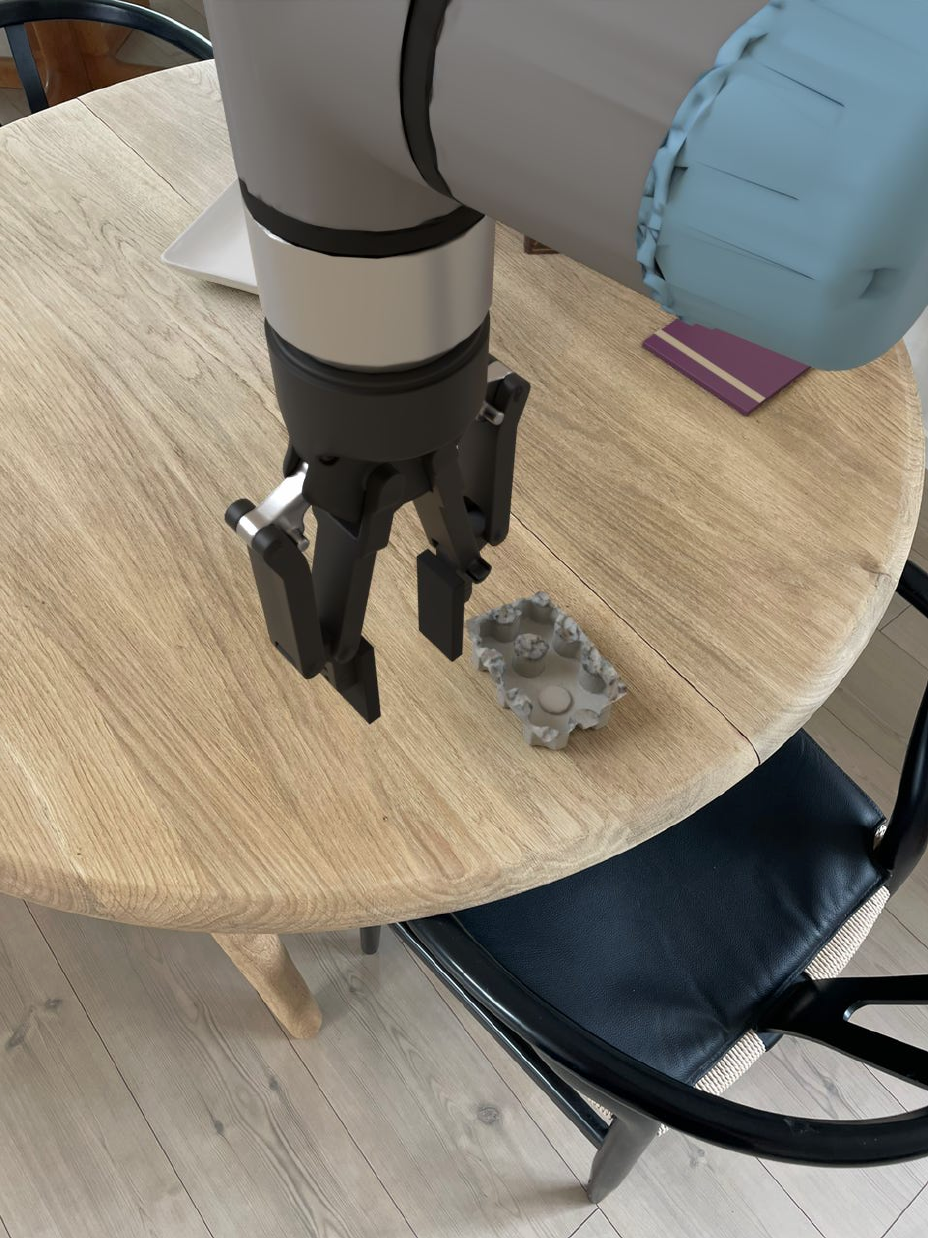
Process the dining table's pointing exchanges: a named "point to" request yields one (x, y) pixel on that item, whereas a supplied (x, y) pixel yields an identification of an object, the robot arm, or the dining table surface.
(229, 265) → the plate
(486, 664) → the egg carton
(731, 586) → the dining table surface
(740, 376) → the tea towel
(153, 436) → the dining table surface
